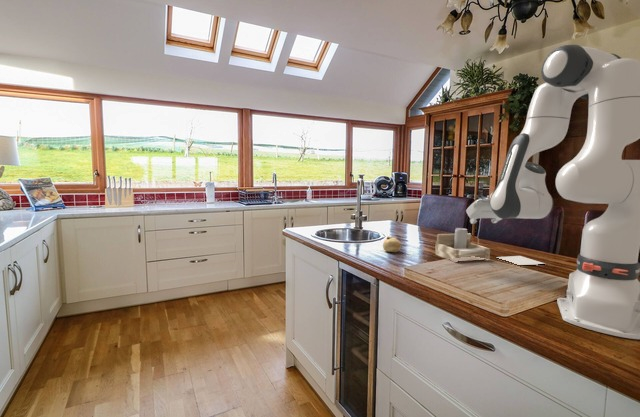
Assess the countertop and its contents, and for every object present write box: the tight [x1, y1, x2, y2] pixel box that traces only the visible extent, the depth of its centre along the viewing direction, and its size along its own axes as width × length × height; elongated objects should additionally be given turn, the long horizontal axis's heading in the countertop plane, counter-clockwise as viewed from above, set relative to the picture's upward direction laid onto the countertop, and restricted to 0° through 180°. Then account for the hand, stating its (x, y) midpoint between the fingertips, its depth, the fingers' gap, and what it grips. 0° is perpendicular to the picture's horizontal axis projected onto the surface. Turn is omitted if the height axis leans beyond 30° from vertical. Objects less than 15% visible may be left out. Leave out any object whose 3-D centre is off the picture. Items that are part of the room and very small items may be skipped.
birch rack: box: [434, 232, 491, 260], centre depth 139 cm, size 14×16×9 cm
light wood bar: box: [457, 248, 485, 258], centre depth 134 cm, size 4×12×4 cm, turn 104°
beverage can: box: [454, 227, 468, 249], centre depth 140 cm, size 5×5×12 cm
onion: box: [382, 236, 402, 254], centre depth 147 cm, size 8×8×7 cm
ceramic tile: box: [496, 255, 546, 266], centre depth 134 cm, size 12×12×1 cm
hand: (482, 222), depth 127 cm, fingers open, 8 cm apart
